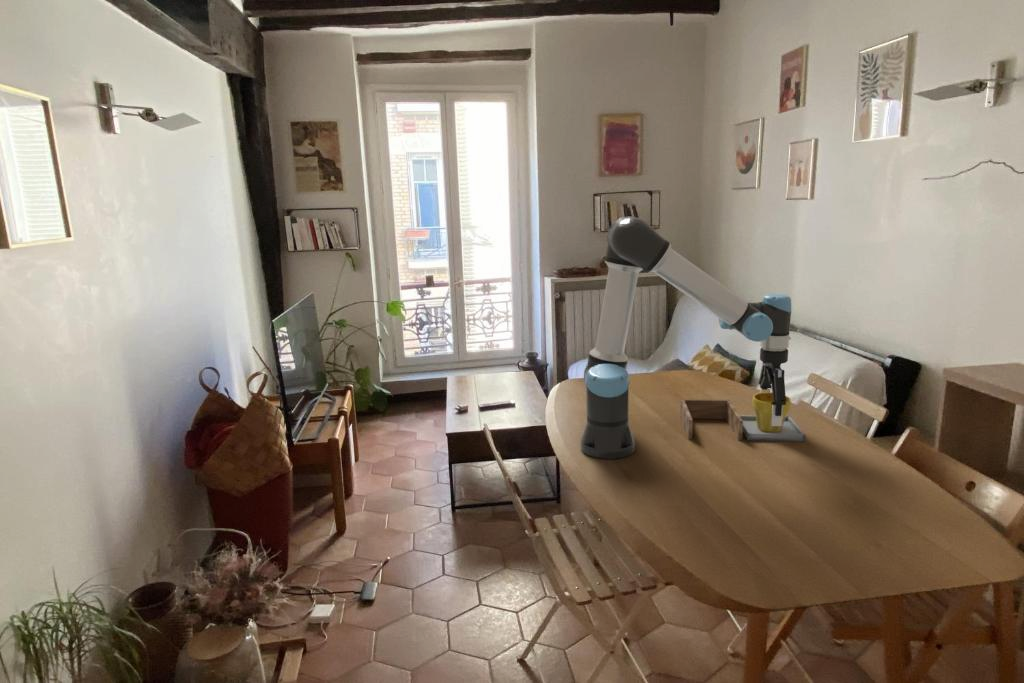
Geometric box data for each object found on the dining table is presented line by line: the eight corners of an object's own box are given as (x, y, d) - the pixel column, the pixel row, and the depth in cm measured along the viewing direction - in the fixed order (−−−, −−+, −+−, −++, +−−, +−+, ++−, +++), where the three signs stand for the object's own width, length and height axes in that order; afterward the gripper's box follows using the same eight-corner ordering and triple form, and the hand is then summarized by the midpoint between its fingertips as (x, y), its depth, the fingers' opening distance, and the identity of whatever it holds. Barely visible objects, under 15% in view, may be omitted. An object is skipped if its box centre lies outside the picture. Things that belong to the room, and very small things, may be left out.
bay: (742, 440, 178) (743, 420, 177) (688, 439, 181) (689, 420, 179) (728, 417, 197) (729, 399, 195) (680, 416, 199) (680, 399, 198)
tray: (805, 441, 176) (805, 434, 176) (748, 440, 178) (748, 433, 178) (788, 421, 191) (789, 415, 191) (736, 421, 193) (736, 415, 193)
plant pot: (792, 435, 178) (794, 403, 176) (754, 434, 180) (755, 402, 178) (784, 423, 188) (786, 392, 186) (748, 421, 190) (750, 391, 188)
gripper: (801, 359, 167) (796, 433, 171) (776, 338, 191) (772, 403, 195) (772, 359, 168) (767, 432, 172) (750, 338, 192) (747, 403, 196)
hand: (770, 417), depth 184 cm, fingers open, 13 cm apart
